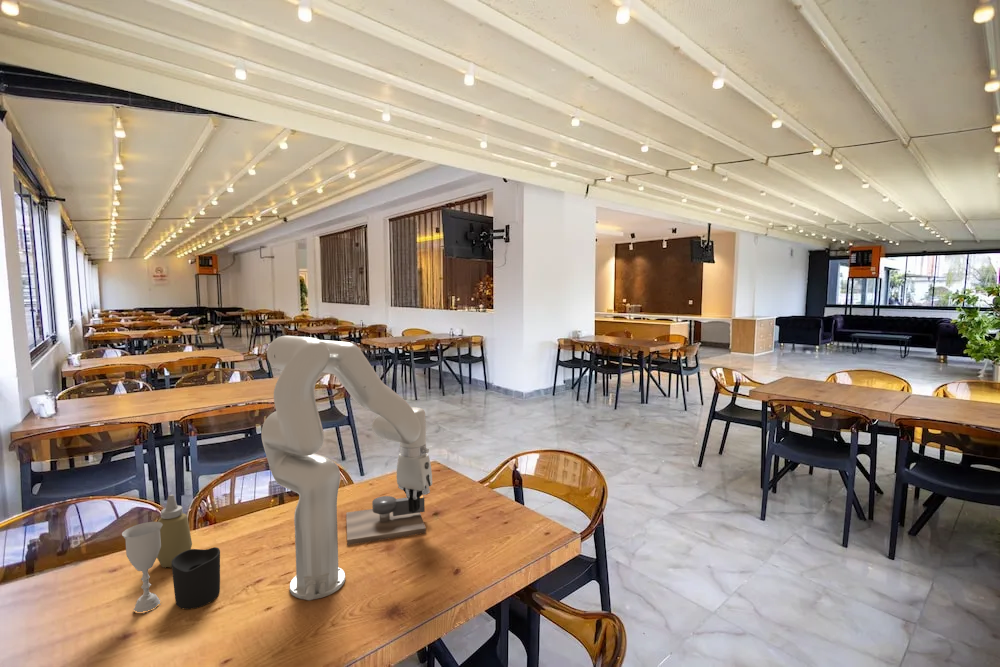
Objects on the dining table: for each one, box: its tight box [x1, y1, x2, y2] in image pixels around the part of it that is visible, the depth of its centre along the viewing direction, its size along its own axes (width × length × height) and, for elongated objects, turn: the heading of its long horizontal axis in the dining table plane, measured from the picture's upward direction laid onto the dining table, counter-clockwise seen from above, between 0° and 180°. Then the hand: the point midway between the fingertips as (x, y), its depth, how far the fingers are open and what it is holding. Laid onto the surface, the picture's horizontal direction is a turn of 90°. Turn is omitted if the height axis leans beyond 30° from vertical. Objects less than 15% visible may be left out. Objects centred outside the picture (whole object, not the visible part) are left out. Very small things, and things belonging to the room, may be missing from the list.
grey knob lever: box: [371, 495, 425, 516], centre depth 148 cm, size 7×16×5 cm, turn 108°
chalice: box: [121, 521, 163, 612], centre depth 108 cm, size 7×7×18 cm
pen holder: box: [171, 547, 221, 610], centre depth 111 cm, size 9×9×10 cm
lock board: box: [346, 508, 427, 546], centre depth 147 cm, size 18×22×5 cm
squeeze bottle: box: [156, 494, 193, 569], centre depth 126 cm, size 8×8×18 cm
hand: (414, 510), depth 144 cm, fingers closed
